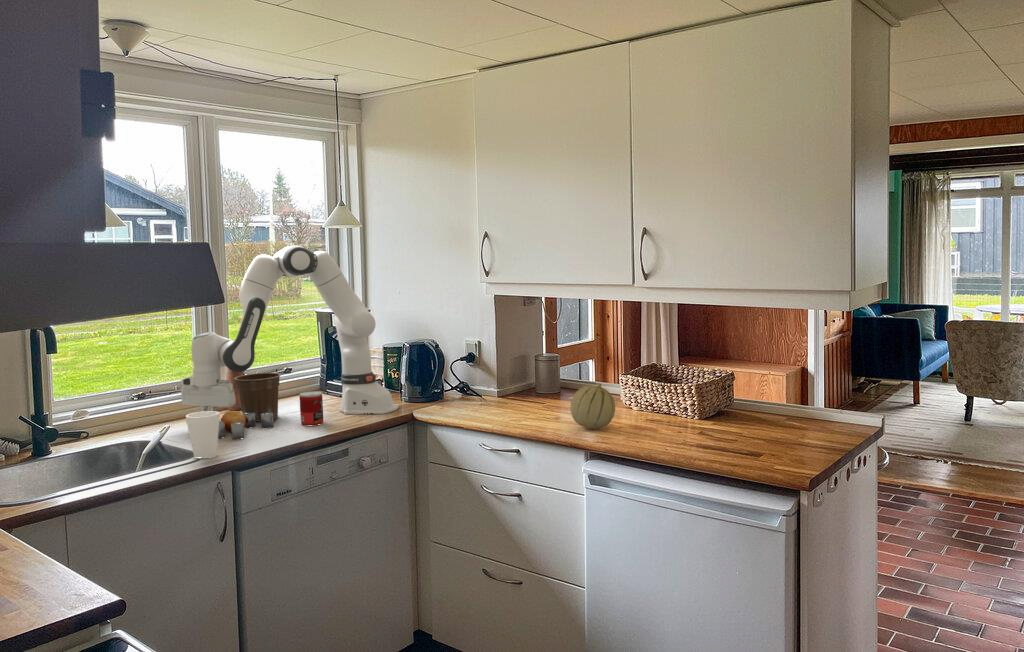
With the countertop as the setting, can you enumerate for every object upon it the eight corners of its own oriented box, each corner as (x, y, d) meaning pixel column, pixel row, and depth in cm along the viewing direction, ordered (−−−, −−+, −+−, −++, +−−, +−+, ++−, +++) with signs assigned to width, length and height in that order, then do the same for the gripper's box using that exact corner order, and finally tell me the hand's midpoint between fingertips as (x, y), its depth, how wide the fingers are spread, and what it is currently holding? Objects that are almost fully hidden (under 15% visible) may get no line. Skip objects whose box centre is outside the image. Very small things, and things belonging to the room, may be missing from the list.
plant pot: (227, 422, 285) (224, 378, 283) (260, 413, 299) (257, 371, 297) (260, 425, 277) (257, 380, 276) (292, 416, 291) (290, 373, 290)
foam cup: (182, 460, 233) (179, 417, 232) (199, 452, 242) (196, 410, 241) (211, 460, 231) (209, 417, 230) (227, 452, 241) (225, 411, 239)
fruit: (234, 423, 276) (239, 405, 272) (246, 437, 272) (251, 419, 269) (213, 427, 270) (218, 409, 266) (224, 441, 266) (230, 423, 262)
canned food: (318, 426, 273) (316, 395, 272) (296, 426, 275) (295, 395, 274) (327, 421, 281) (325, 391, 280) (306, 421, 282) (305, 391, 281)
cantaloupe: (561, 429, 259) (560, 384, 258) (592, 421, 268) (591, 378, 267) (593, 436, 248) (593, 389, 246) (625, 428, 257) (624, 383, 256)
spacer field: (275, 426, 275) (275, 412, 275) (239, 439, 257) (238, 425, 256) (235, 424, 281) (234, 410, 280) (196, 437, 262) (195, 422, 261)
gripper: (238, 378, 270) (240, 417, 271) (189, 377, 277) (192, 415, 278) (226, 381, 264) (228, 421, 266) (176, 380, 271) (179, 419, 272)
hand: (209, 418), depth 272 cm, fingers closed
